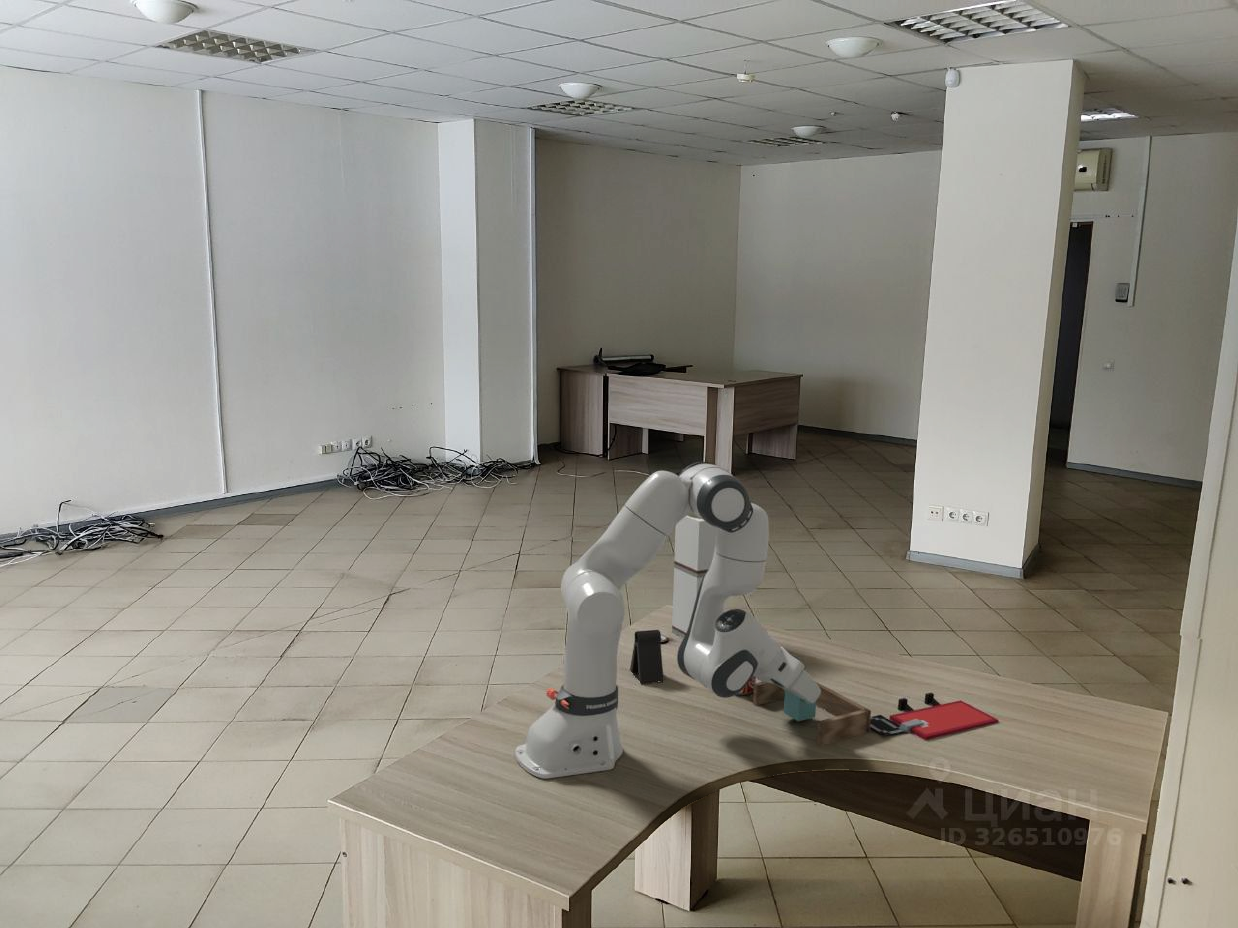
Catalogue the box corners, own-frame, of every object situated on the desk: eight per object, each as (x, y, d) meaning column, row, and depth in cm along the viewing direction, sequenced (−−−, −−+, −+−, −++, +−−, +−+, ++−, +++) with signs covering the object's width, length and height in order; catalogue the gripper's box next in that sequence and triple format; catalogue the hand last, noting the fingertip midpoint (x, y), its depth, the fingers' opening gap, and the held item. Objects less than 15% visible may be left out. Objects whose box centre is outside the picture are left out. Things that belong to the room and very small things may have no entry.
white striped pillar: (725, 638, 270) (731, 517, 264) (694, 644, 265) (699, 521, 259) (702, 626, 280) (707, 509, 274) (672, 632, 275) (676, 512, 269)
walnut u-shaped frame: (821, 744, 207) (822, 723, 206) (753, 703, 227) (754, 683, 226) (869, 731, 214) (871, 710, 213) (798, 692, 234) (799, 673, 233)
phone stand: (629, 670, 245) (631, 626, 243) (652, 668, 247) (653, 624, 245) (640, 684, 237) (642, 638, 235) (663, 682, 239) (665, 636, 237)
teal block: (798, 721, 215) (800, 687, 214) (783, 712, 219) (785, 679, 218) (815, 717, 218) (817, 683, 216) (800, 708, 222) (802, 676, 220)
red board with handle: (852, 719, 220) (899, 748, 207) (853, 708, 219) (900, 736, 206) (948, 699, 233) (997, 725, 220) (949, 688, 233) (999, 714, 220)
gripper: (730, 656, 219) (762, 689, 225) (789, 688, 202) (821, 723, 208) (747, 635, 220) (778, 668, 227) (806, 664, 203) (838, 699, 210)
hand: (799, 694), depth 217 cm, fingers closed on teal block, 5 cm apart
